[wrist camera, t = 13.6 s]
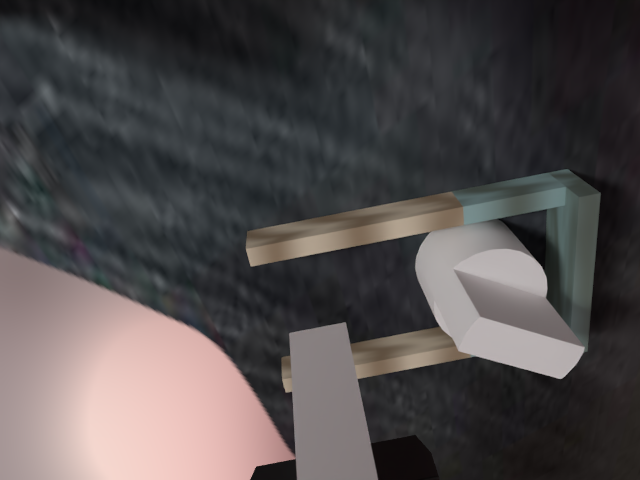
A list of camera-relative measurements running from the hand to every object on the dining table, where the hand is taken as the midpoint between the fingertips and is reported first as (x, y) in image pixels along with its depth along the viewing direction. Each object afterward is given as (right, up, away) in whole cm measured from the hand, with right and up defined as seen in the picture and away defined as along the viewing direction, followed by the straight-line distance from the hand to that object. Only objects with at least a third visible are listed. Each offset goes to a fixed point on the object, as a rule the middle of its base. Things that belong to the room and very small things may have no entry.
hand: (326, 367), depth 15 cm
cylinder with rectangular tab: (+13, +2, +33) cm, 35 cm away
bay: (+7, 0, +33) cm, 34 cm away
